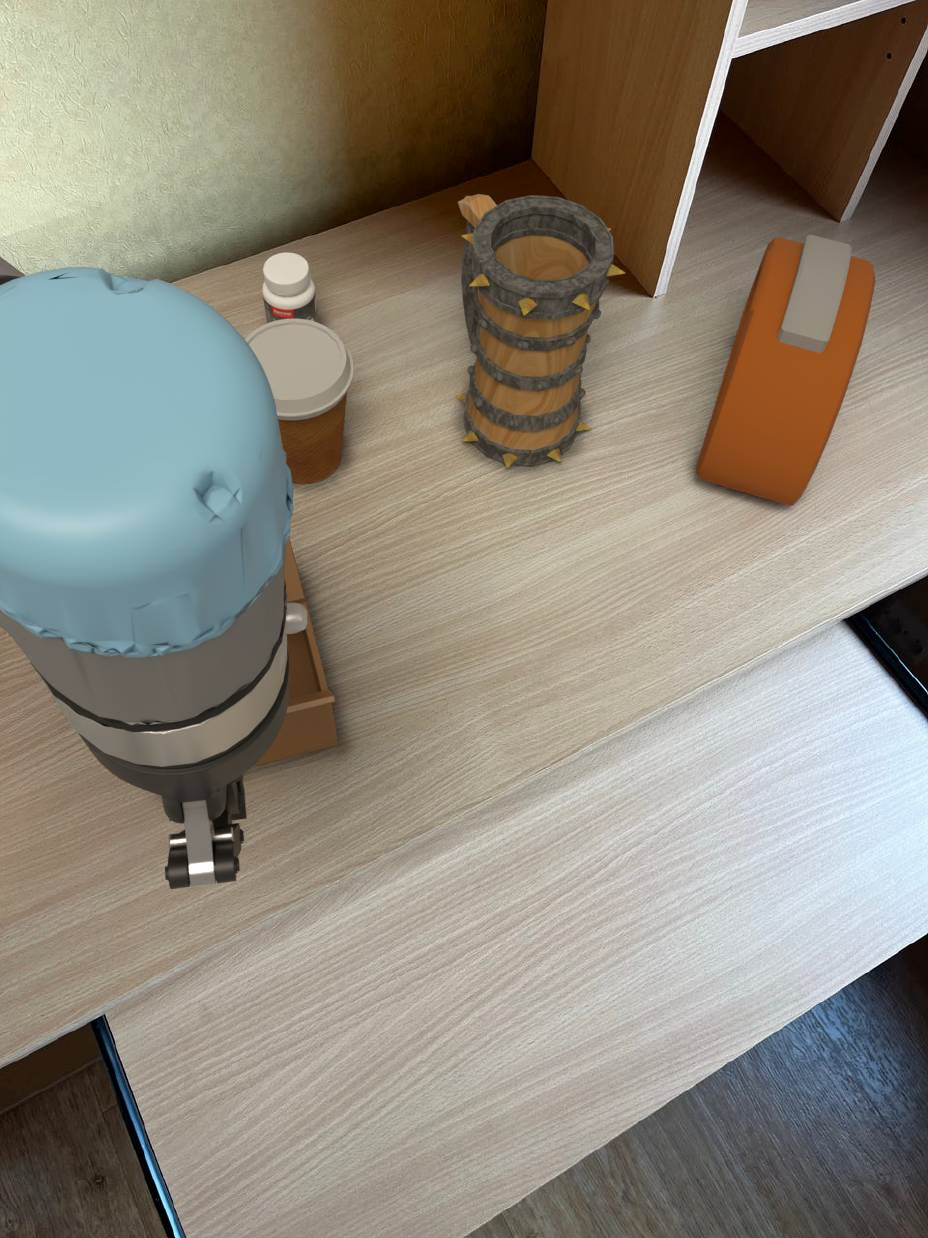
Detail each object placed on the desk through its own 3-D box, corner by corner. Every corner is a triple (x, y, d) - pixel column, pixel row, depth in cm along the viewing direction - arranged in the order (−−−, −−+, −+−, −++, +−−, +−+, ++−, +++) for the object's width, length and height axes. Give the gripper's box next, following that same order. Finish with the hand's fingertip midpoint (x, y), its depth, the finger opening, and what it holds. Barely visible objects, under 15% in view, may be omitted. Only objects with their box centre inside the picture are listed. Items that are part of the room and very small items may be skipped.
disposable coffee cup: (292, 517, 89) (275, 424, 79) (229, 447, 93) (205, 349, 82) (382, 463, 93) (377, 366, 82) (318, 397, 96) (306, 296, 86)
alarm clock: (741, 315, 103) (793, 167, 89) (832, 340, 102) (900, 193, 88) (686, 497, 92) (735, 360, 78) (787, 527, 91) (857, 394, 76)
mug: (498, 499, 91) (517, 328, 74) (400, 369, 98) (396, 185, 81) (620, 441, 95) (665, 265, 78) (516, 320, 102) (536, 134, 85)
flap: (334, 695, 64) (335, 701, 64) (328, 689, 71) (329, 694, 71) (117, 748, 62) (119, 755, 62) (134, 736, 69) (136, 742, 69)
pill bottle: (275, 360, 98) (263, 291, 91) (265, 324, 100) (253, 254, 93) (325, 351, 99) (317, 281, 92) (314, 315, 101) (306, 245, 94)
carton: (296, 581, 86) (283, 514, 78) (338, 745, 79) (329, 690, 71) (135, 617, 84) (105, 552, 76) (163, 789, 77) (133, 738, 69)
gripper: (306, 843, 33) (301, 923, 55) (273, 480, 38) (280, 686, 60) (56, 873, 32) (152, 943, 54) (53, 492, 37) (142, 698, 58)
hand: (219, 807), depth 57 cm, fingers closed
